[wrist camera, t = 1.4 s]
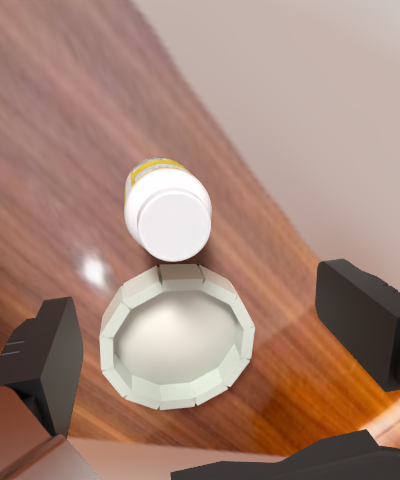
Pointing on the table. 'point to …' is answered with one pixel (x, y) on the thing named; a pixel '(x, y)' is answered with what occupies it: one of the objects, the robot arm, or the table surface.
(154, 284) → the sage bowl
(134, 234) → the supplement bottle
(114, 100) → the table surface
